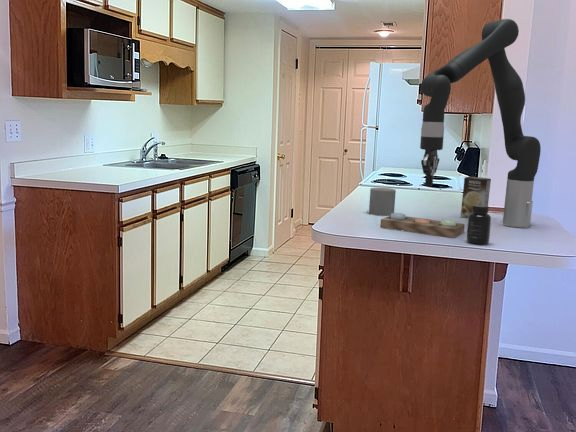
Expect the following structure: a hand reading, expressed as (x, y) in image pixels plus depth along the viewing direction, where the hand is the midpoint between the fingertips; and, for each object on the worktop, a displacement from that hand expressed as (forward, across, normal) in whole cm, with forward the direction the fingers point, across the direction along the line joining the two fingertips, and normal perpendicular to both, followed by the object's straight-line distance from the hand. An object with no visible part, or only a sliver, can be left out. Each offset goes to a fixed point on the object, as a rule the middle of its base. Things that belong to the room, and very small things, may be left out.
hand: (428, 186), depth 199 cm
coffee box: (+16, +37, -7) cm, 41 cm away
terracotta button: (+15, -2, +1) cm, 15 cm away
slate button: (+14, -2, +10) cm, 17 cm away
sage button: (+14, -2, -8) cm, 16 cm away
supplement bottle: (+16, -10, -20) cm, 27 cm away
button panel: (+15, -2, +1) cm, 15 cm away
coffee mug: (+16, +22, +26) cm, 37 cm away
